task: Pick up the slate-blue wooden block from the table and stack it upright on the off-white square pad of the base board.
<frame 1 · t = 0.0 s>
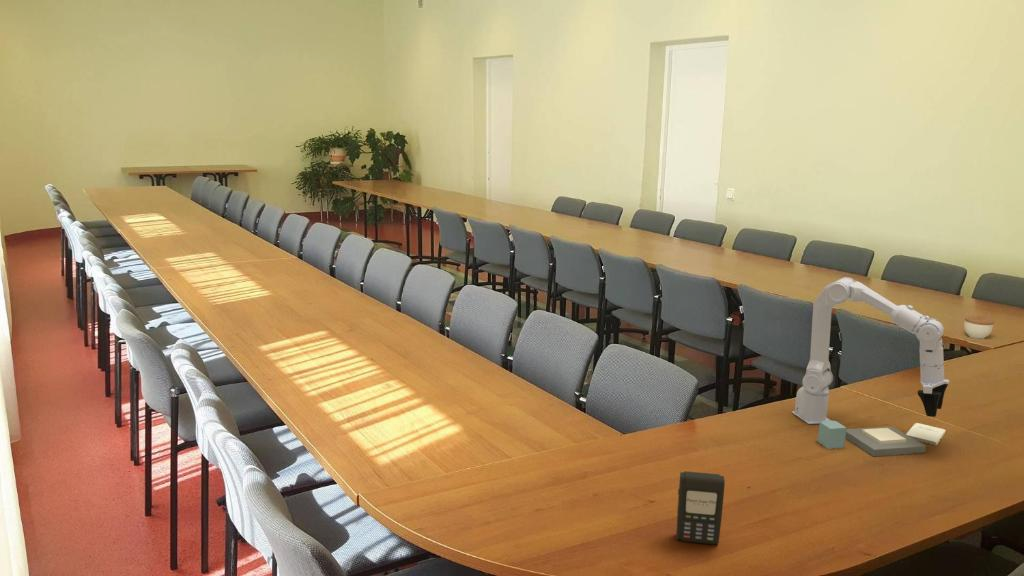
hand: (934, 412, 215), 11 cm above the table, tool pointing down, fingers open, 7 cm apart
external hard drive: (924, 437, 226), on the table
base board: (882, 444, 219), on the table
lidded jar: (976, 337, 333), on the table
card reader: (696, 540, 166), on the table
block: (830, 444, 217), on the table
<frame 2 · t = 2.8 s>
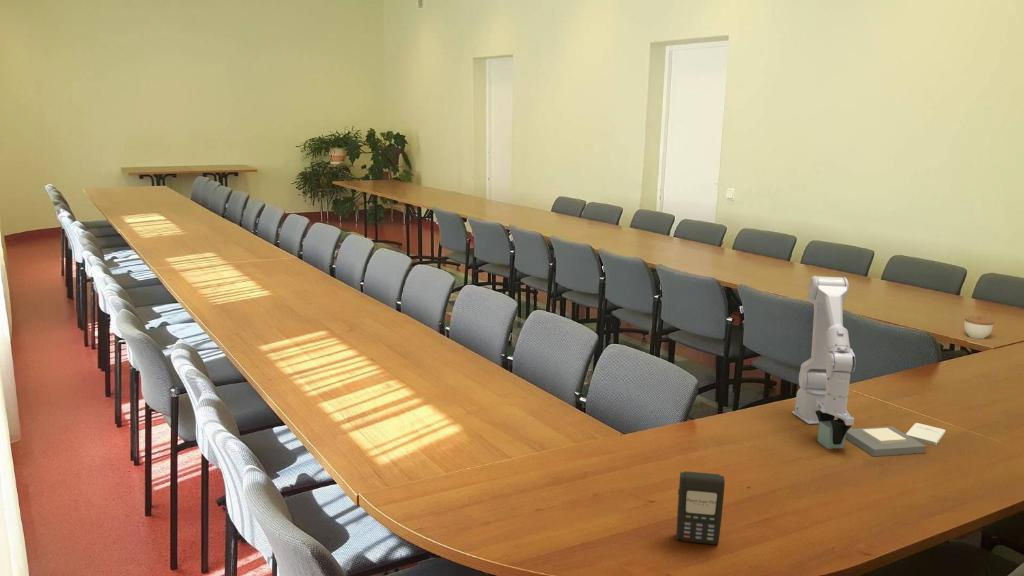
hand: (831, 439, 217), 1 cm above the table, tool pointing down, fingers closed on block, 5 cm apart
block: (830, 444, 217), on the table, touching gripper
everything else where it was.
when the fingers open (5 cm above the table, at t = 6.6 s): block stays where it is, resting on base board.
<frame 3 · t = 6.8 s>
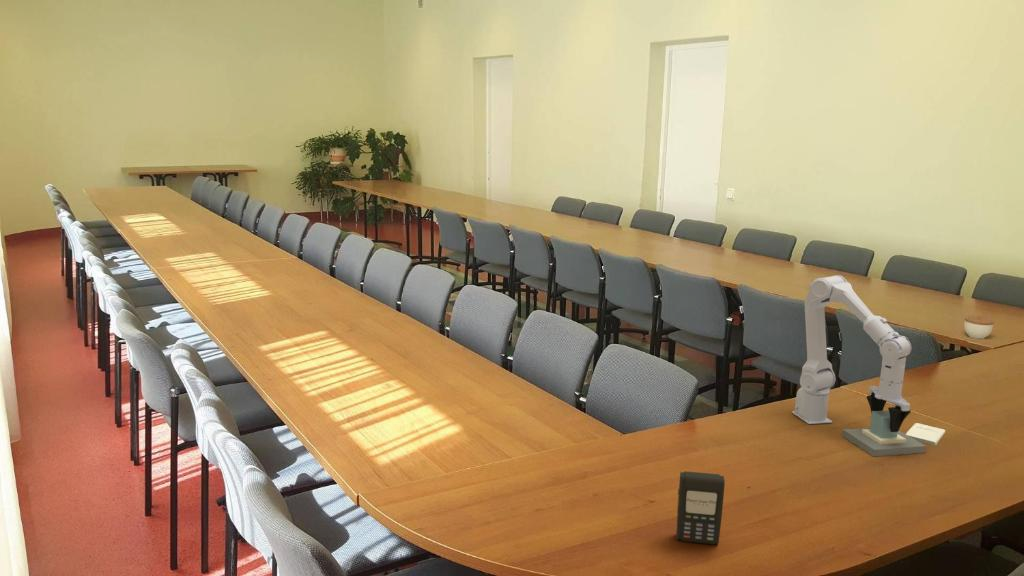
hand: (885, 426, 217), 5 cm above the table, tool pointing down, fingers open, 7 cm apart
block: (882, 434, 218), point 3 cm above the table, touching base board
everything else where it was.
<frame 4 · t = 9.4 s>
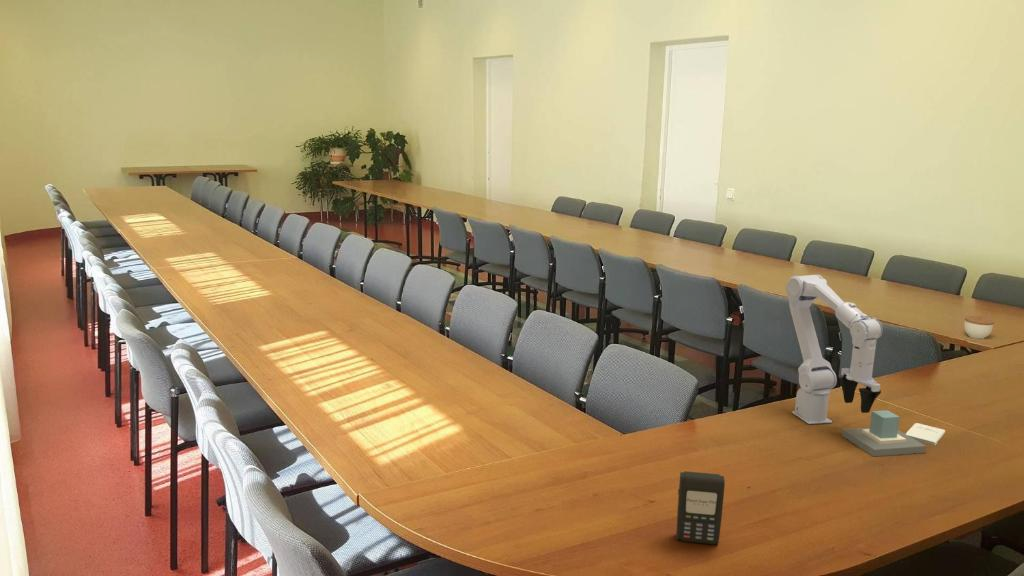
hand: (856, 407, 220), 9 cm above the table, tool pointing down, fingers open, 7 cm apart
nothing on the table moved.
at the end: block 0.3 cm off-centre on the base board, point 3.0 cm above the base board's base; block tilted 0°; the gripper is holding nothing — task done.
